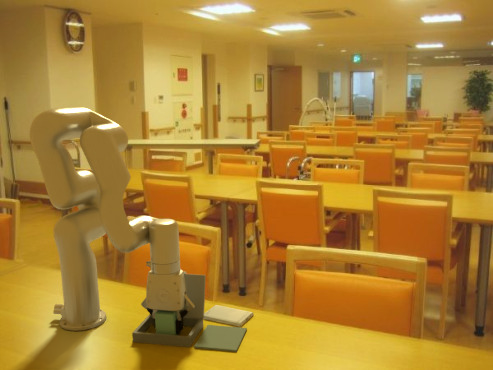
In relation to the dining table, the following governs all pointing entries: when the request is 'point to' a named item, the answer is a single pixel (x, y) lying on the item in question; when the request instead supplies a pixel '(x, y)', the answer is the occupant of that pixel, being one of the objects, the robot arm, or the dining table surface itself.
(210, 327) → the mat
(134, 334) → the case
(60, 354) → the dining table surface
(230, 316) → the hard drive
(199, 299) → the lid
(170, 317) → the block
